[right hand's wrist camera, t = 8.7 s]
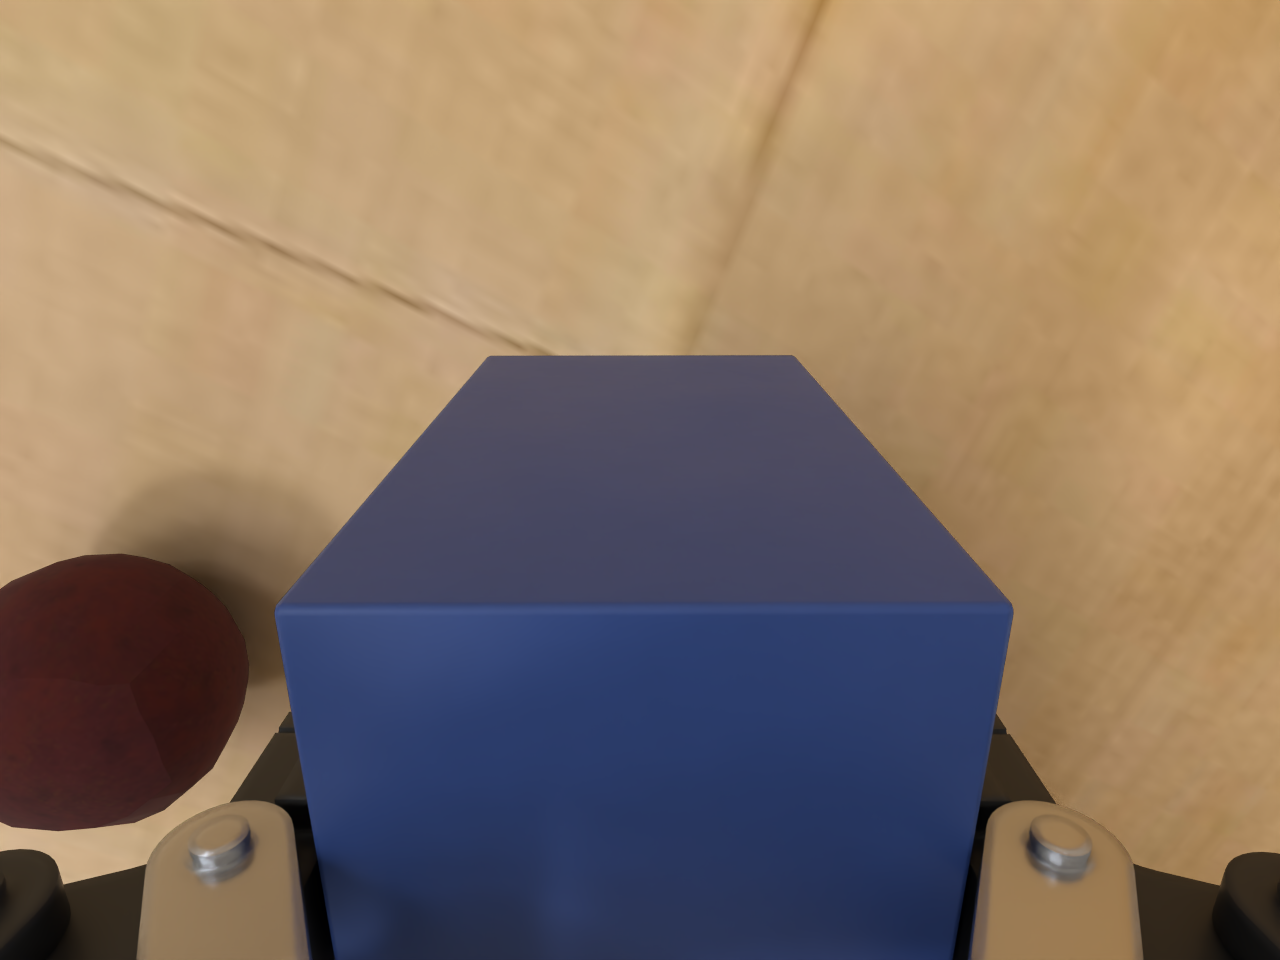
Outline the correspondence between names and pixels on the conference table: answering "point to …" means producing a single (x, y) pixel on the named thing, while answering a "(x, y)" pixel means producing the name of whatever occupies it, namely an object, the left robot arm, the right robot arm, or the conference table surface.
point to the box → (643, 679)
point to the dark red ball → (111, 690)
